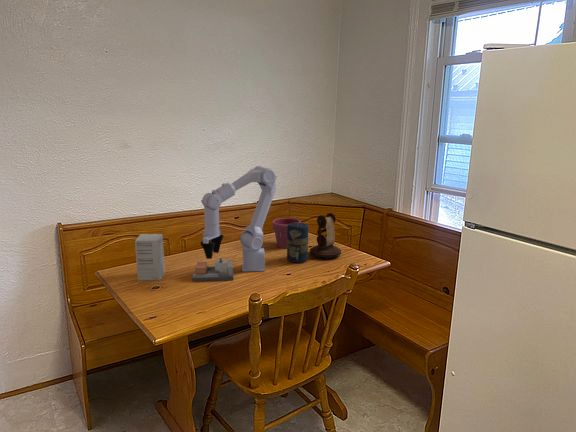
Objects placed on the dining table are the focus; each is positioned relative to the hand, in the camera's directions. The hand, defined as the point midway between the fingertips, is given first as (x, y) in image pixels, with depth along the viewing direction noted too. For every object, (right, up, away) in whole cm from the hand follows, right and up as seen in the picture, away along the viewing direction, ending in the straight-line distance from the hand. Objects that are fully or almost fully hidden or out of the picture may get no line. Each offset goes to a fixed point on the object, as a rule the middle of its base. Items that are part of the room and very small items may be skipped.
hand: (212, 255), depth 182 cm
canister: (+35, -4, +22) cm, 42 cm away
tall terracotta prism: (-5, -7, +1) cm, 9 cm away
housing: (+3, -7, +2) cm, 8 cm away
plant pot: (+30, +1, +43) cm, 53 cm away
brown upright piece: (+48, -3, +29) cm, 57 cm away
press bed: (0, -9, +2) cm, 9 cm away
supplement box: (-25, -9, +2) cm, 27 cm away
